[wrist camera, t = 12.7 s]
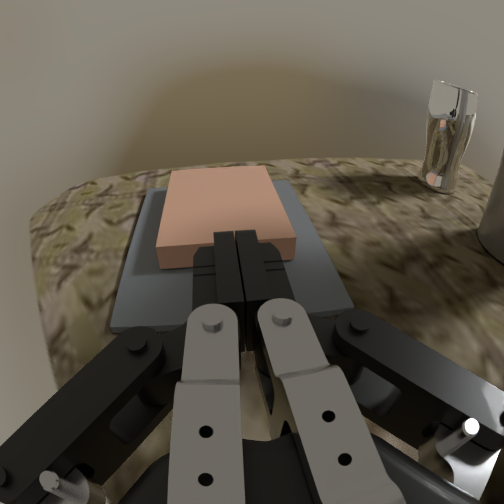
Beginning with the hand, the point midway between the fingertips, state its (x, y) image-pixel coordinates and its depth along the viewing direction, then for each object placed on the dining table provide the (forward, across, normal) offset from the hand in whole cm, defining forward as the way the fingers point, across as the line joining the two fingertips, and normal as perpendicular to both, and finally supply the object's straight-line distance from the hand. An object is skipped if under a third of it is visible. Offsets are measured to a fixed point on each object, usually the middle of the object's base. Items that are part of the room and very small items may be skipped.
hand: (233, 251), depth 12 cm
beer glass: (+24, -31, +8) cm, 40 cm away
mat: (+14, 0, +8) cm, 16 cm away
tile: (+9, 0, +7) cm, 11 cm away
